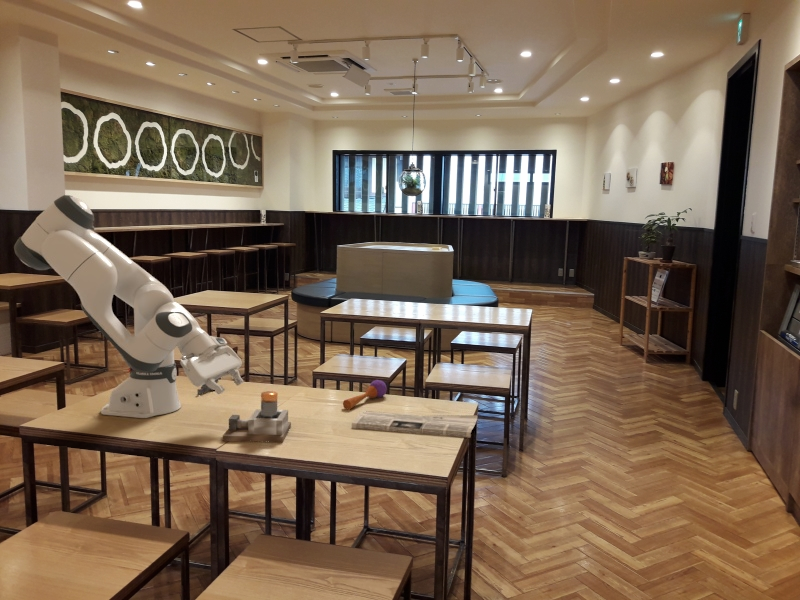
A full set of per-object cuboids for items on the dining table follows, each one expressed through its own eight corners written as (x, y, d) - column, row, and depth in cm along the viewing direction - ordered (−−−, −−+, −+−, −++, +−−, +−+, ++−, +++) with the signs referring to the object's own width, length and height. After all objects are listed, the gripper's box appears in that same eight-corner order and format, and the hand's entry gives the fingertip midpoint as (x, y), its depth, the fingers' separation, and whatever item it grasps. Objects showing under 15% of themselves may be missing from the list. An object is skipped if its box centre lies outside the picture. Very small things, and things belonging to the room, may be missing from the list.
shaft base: (222, 441, 160) (222, 421, 159) (234, 425, 172) (234, 407, 171) (282, 442, 160) (282, 422, 159) (290, 427, 172) (290, 408, 171)
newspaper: (351, 429, 172) (351, 417, 172) (361, 416, 184) (361, 405, 184) (475, 439, 166) (475, 427, 166) (477, 425, 179) (477, 413, 178)
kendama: (338, 395, 191) (374, 378, 207) (341, 413, 191) (377, 394, 208) (352, 395, 187) (388, 377, 204) (356, 414, 188) (391, 394, 204)
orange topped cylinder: (259, 431, 164) (259, 395, 162) (262, 425, 168) (263, 390, 167) (275, 431, 164) (275, 395, 162) (278, 426, 168) (279, 391, 167)
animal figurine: (204, 400, 200) (202, 386, 199) (193, 398, 201) (190, 385, 200) (224, 384, 211) (222, 371, 210) (212, 383, 212) (211, 370, 211)
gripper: (184, 350, 159) (216, 390, 157) (227, 337, 178) (257, 372, 177) (170, 366, 161) (202, 405, 159) (214, 350, 180) (243, 385, 178)
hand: (231, 388), depth 168 cm, fingers open, 8 cm apart
